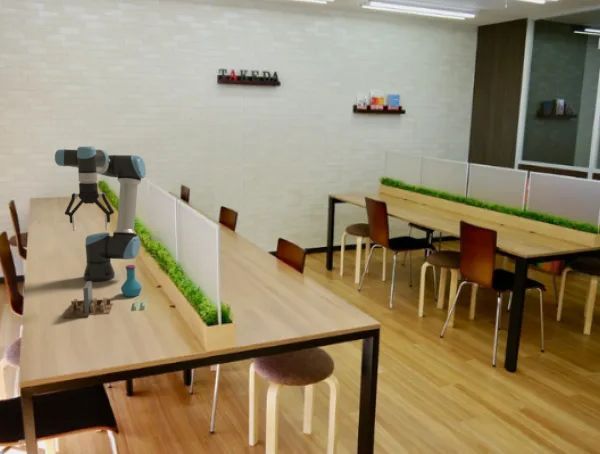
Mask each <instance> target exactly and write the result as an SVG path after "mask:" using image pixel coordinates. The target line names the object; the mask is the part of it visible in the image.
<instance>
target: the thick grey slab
mask: <svg viewBox="0 0 600 454" xmlns="http://www.w3.org/2000/svg"><path fill="white" fill-rule="evenodd" d="M92 282H93V281H87V280H86V282H85V285H84V287H82V288H83V300H84V309H85V313H90V305H91V303H92V301H93V299H94V298H93V285H92V284H93V283H92Z"/></svg>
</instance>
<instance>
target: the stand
mask: <svg viewBox="0 0 600 454" xmlns="http://www.w3.org/2000/svg"><path fill="white" fill-rule="evenodd" d="M148 303H149V302H148V301H147V299H146V298H143V300H142V301H139V299H138V298H137V299H135V300H134V302H133V305H132V309H131V312H134V311H136V312H137V311H147V309H148V305H149V304H148Z"/></svg>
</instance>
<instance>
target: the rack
mask: <svg viewBox="0 0 600 454" xmlns="http://www.w3.org/2000/svg"><path fill="white" fill-rule="evenodd" d="M70 302H71V304H70V305H69V306H68V308H66V311H65V312H64V314H63V316H62V317H63V319H78V318H81V319H82V318H88V317H89V316H95V315H109V314H110V313H111V311H112V307H113V305H114V303H113V302H111V298H109V299H107V297H103V299H97V297H96V298H93V301H92V303H91V305H90V313H85V309H84V299H83V300H78V298H76V299H74V300H71V301H70Z"/></svg>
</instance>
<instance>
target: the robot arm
mask: <svg viewBox="0 0 600 454" xmlns="http://www.w3.org/2000/svg"><path fill="white" fill-rule="evenodd" d="M54 161H55V162H54V163H55V164H56V165H58V166H59V167H70V168H71V167H72V168H76V169H78V170H77V171H78V173H77V174H78V175H77V176H78V182H79V183H78V189H79V192H78V193H75V192H73V193H72V194H71V198H70V201H69V203H68V205H67V208H66V210H65V212H64V214H65V216H69V223H70V224H72V231H73V232H75V231H76V230H77V228H76V215H75V213H76V212H77V211H78V209H79V208H81V206H82V205H83V204H84V205H86V204H87V205H88V204H92V205H93V204H95V205H96V206H97V207H99V209H101V210H102V212H103V213H104V214H105V215H104V223H105V225H104V227H105V231H108V230H109V223H110V222H111V215H113V214H115V210H114V208H113V207H112V206H111V204H110V202H109V200H108V199H107V194H106V192H103V193H99V189H98V187H99V186H98V182H97V181H98V175H101V176H105V177H109V178H117V182H118V183H120V184H119V195H118V197H119V198H118V207H117V219H116V221H117V223H116V229H115V230H114V231H113V234H112V235H111V234H110V233H109V232H97V233H92V234H90V235H87V236H86V238H85V245H84V246H85V256H86V257H85V258H86V265H85V269H84V273H83V280H85V281H87V280H88V281H92V282H104V281H109V280H112V278H113V279H114V278H115V277H116V276H115V275H116V273H115V270H114V268H113V266H112V265H113V264H112V263H111V260H113V259H114V260H134V259H135V258H137V256H138V255H139V252H140V250H141V238H140V237H139V236H138V234H137V232H136V231H135V224H136V223H135V222H136V211H137V210H136V208H137V195H138V185H140V183H141V182H142V179H144V178H145V177H146V171H147V170H146V165H145V162H144V161H145V160H144V159H143V158H142V157H141V156H139V155H133V154H130V155H129V154H128V155H125V154H123V155H122V154H120V155H119V154H108V153H107V152H106V151H105V150H103V149H96V147H95V146H78V147H77V149H65V148H63V149H57V150H56V151H55V154H54ZM99 197H100V198H101V199H102V201H103V203H104V204H105V206H106V207H105V206H104V205H103V204H102V202H100V200H99V199H98V198H99ZM77 198H79V199H80V200H79V202H78V203H77V204H76V206H74V208H73V209H72V206H73V205H74V203H75V201H76V199H77ZM71 209H72V210H71ZM70 211H71V212H70ZM114 276H115V277H114Z"/></svg>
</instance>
